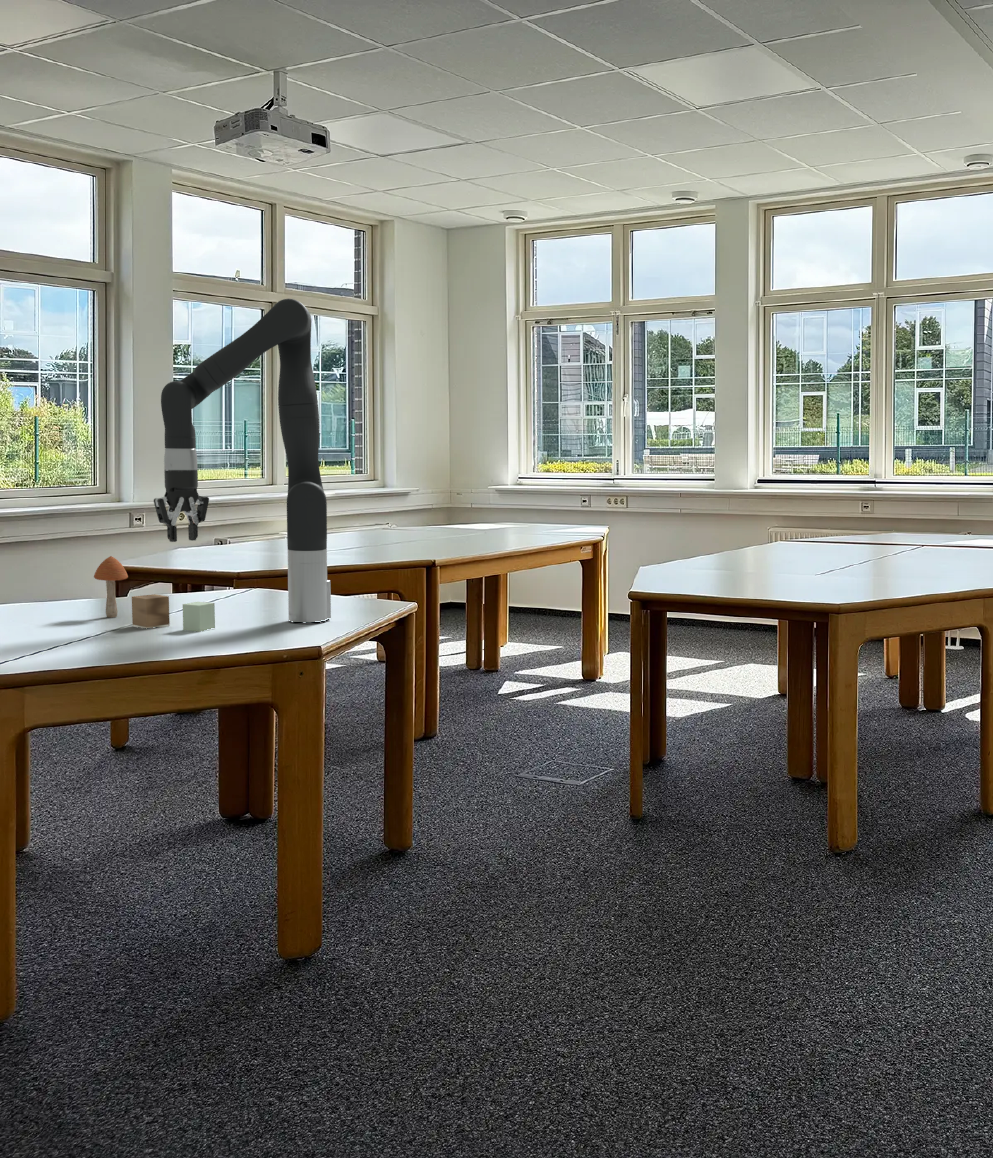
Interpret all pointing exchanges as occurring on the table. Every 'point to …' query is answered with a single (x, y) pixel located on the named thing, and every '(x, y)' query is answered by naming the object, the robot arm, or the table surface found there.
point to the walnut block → (150, 611)
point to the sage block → (198, 616)
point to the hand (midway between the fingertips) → (182, 540)
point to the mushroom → (110, 581)
